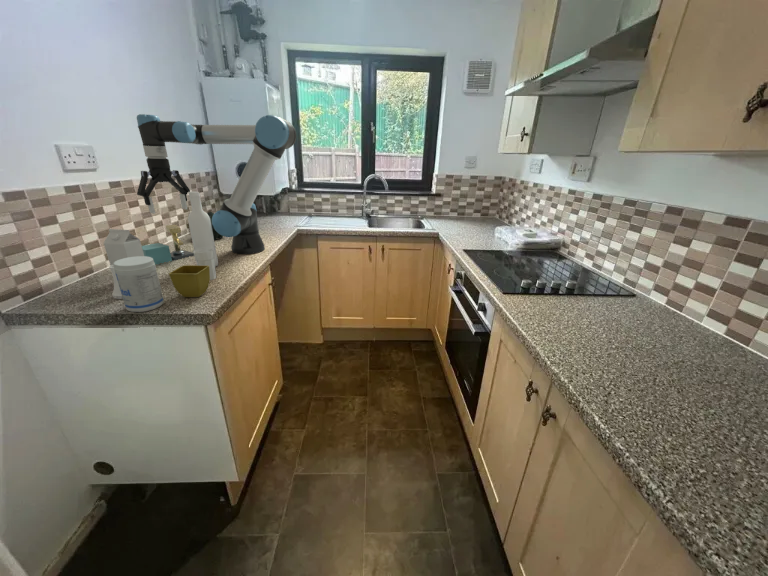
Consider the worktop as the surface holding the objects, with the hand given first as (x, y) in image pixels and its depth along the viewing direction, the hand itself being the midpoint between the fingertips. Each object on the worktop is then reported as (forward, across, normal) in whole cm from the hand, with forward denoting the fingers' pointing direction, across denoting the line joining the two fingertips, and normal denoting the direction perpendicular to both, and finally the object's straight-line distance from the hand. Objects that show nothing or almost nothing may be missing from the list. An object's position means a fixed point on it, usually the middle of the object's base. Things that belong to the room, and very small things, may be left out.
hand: (169, 211), depth 136 cm
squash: (+20, +30, +18) cm, 41 cm away
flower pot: (+21, -23, -46) cm, 55 cm away
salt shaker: (+20, -34, -27) cm, 48 cm away
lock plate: (+20, 0, 0) cm, 20 cm away
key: (+18, -1, -2) cm, 18 cm away
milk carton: (+20, -27, -17) cm, 38 cm away
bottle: (+21, -2, -23) cm, 31 cm away
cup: (+21, -11, -36) cm, 43 cm away
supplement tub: (+21, -36, -42) cm, 59 cm away
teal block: (+20, -10, 0) cm, 23 cm away
